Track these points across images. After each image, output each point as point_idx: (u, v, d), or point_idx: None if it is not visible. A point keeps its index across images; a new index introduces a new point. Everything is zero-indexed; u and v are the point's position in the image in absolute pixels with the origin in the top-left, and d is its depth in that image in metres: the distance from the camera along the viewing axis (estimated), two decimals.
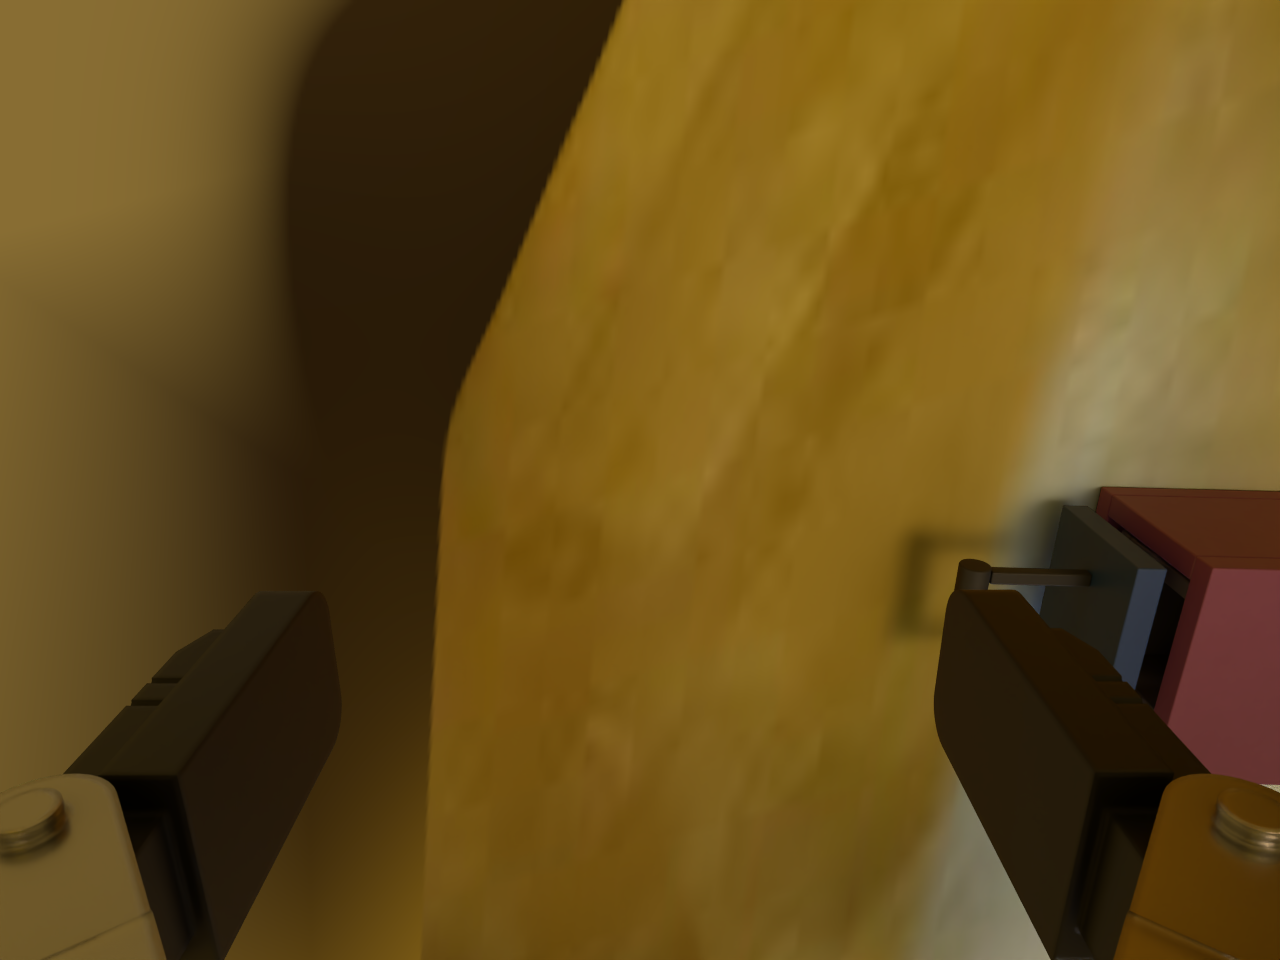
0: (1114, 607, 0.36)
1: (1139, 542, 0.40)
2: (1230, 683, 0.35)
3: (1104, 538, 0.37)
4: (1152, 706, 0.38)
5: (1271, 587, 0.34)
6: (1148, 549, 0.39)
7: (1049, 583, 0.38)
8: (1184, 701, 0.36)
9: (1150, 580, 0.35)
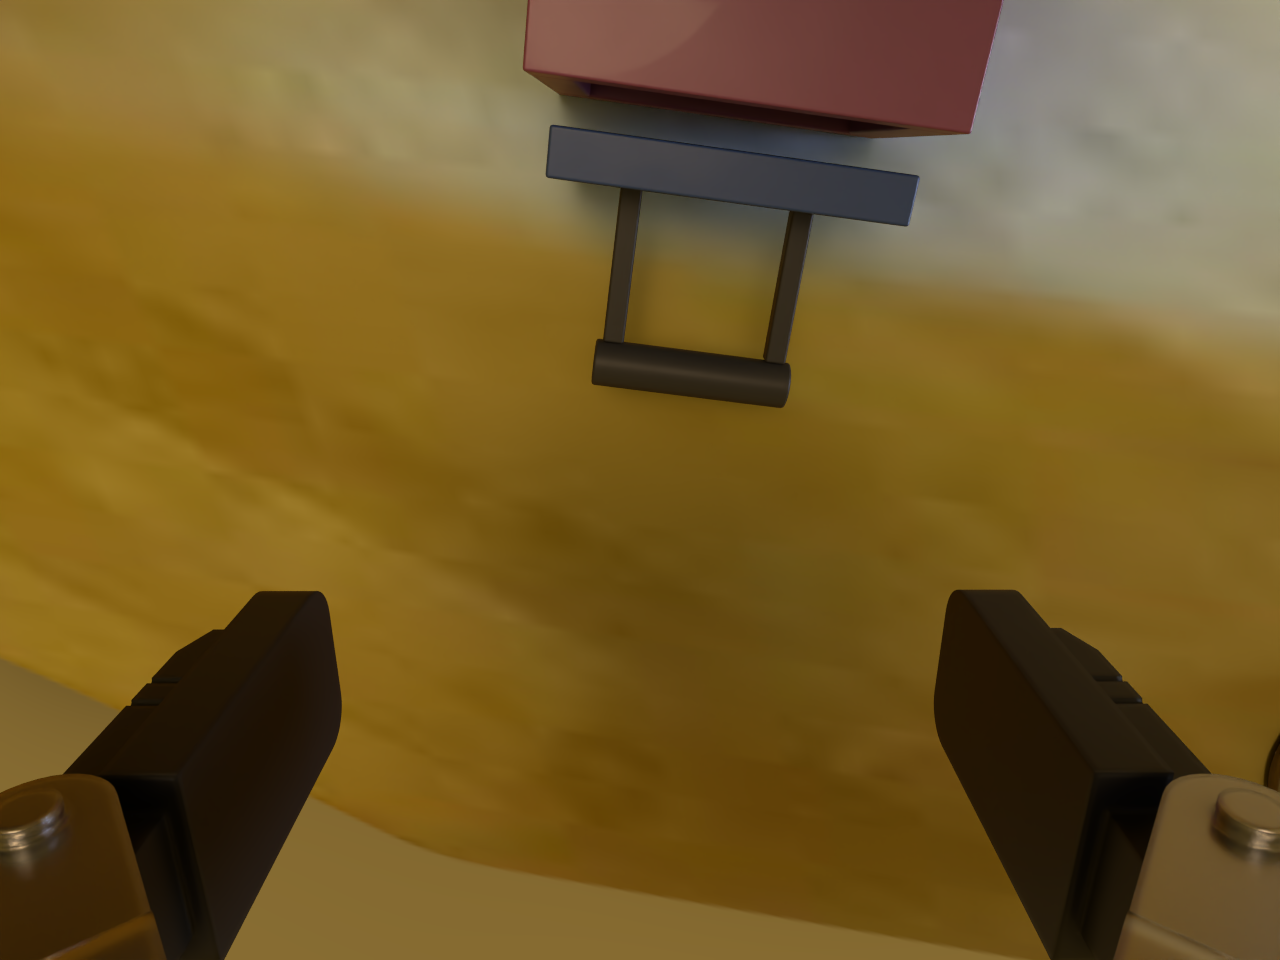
0: None
1: None
2: None
3: None
4: None
5: None
6: None
7: (629, 253, 0.24)
8: (796, 89, 0.19)
9: (568, 153, 0.21)
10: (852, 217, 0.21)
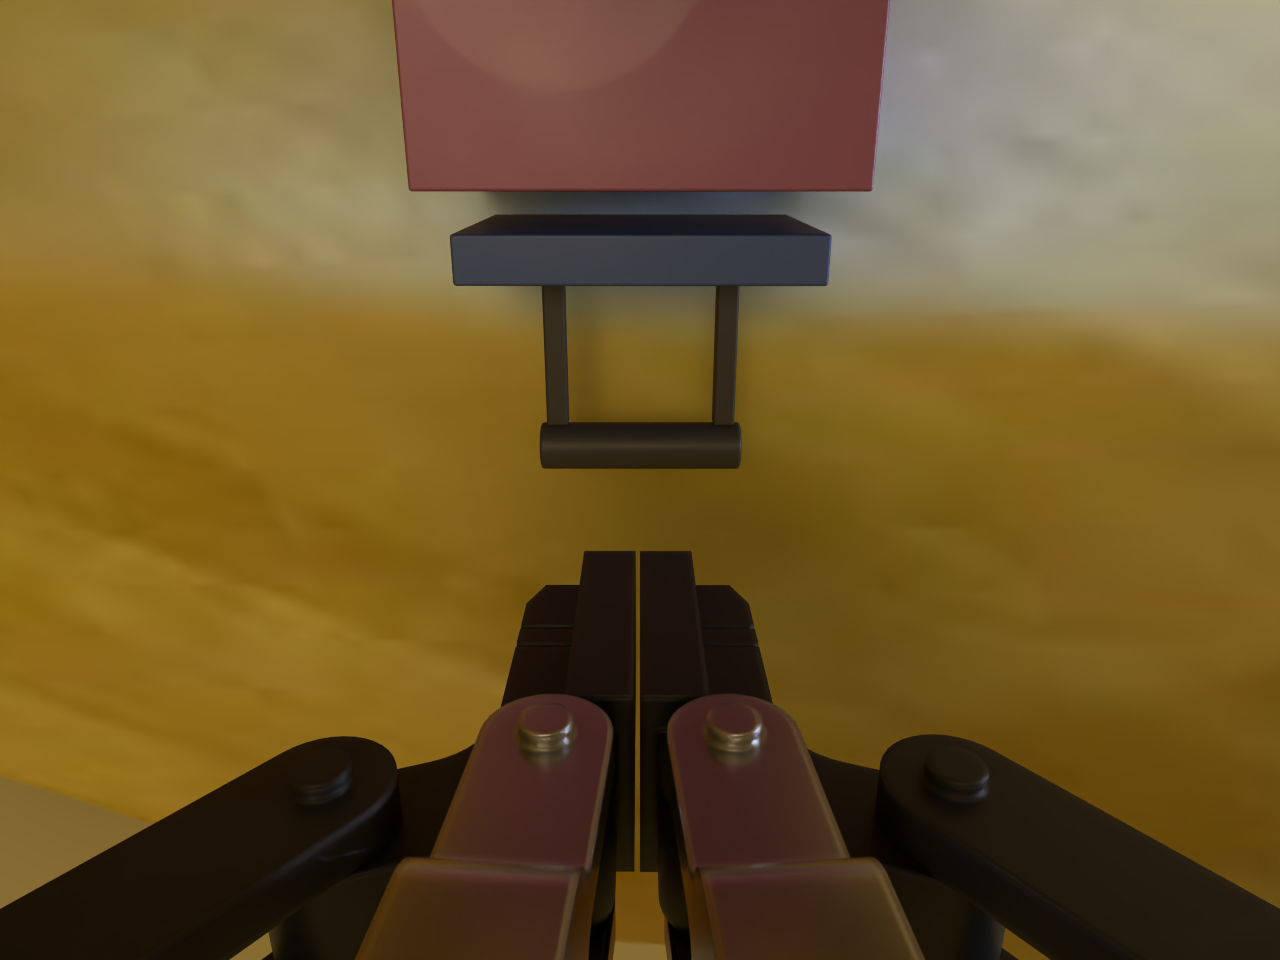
0: None
1: None
2: (644, 89, 0.18)
3: None
4: None
5: (433, 65, 0.18)
6: None
7: (560, 337, 0.24)
8: (686, 171, 0.19)
9: (472, 260, 0.21)
10: (768, 284, 0.21)
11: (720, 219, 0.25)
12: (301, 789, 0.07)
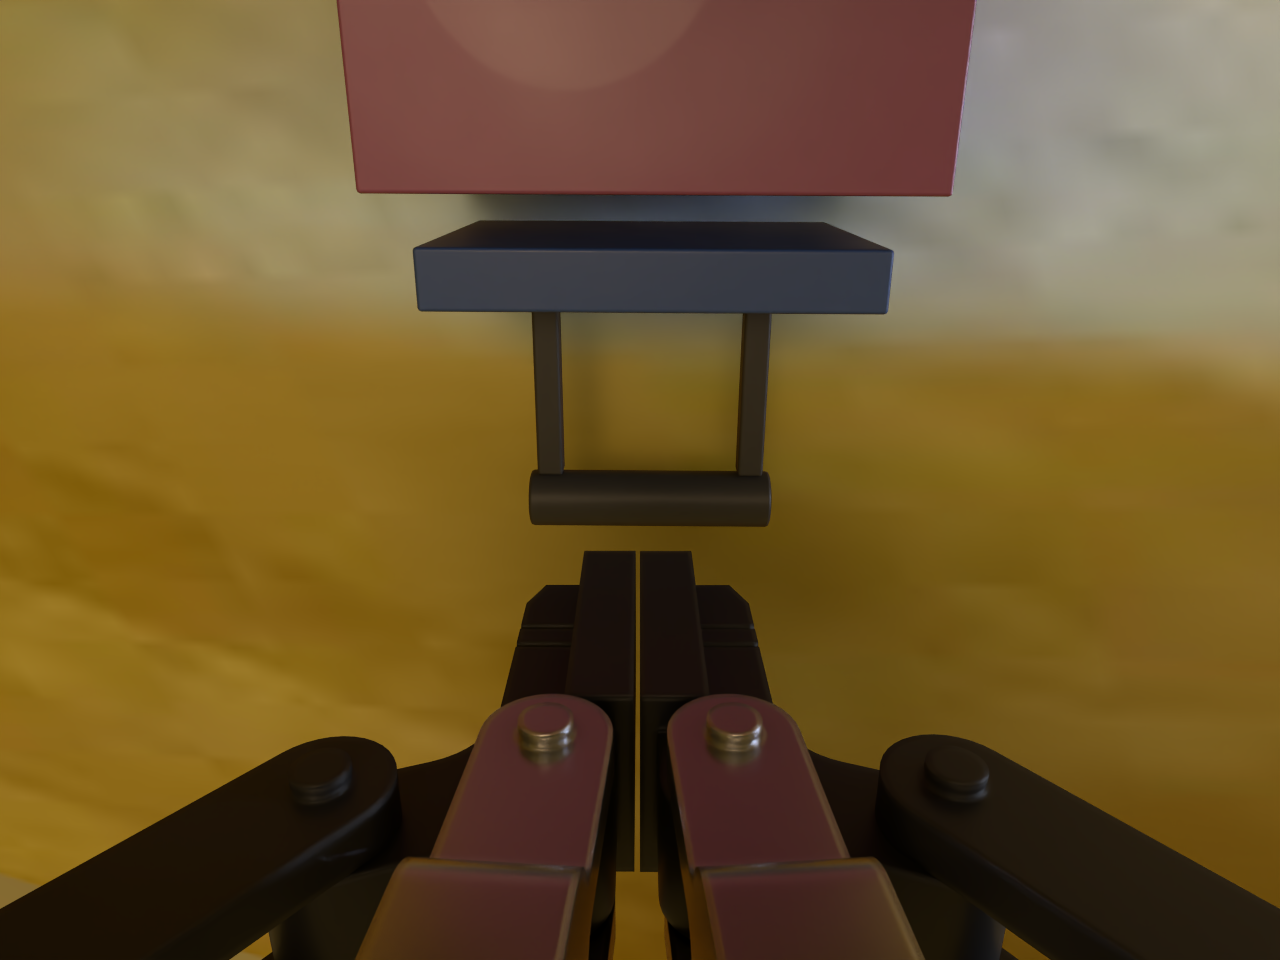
0: None
1: None
2: (659, 61, 0.14)
3: None
4: None
5: (385, 29, 0.14)
6: None
7: (553, 370, 0.20)
8: (712, 170, 0.15)
9: (441, 279, 0.16)
10: (813, 312, 0.17)
11: (748, 228, 0.20)
12: (301, 789, 0.07)
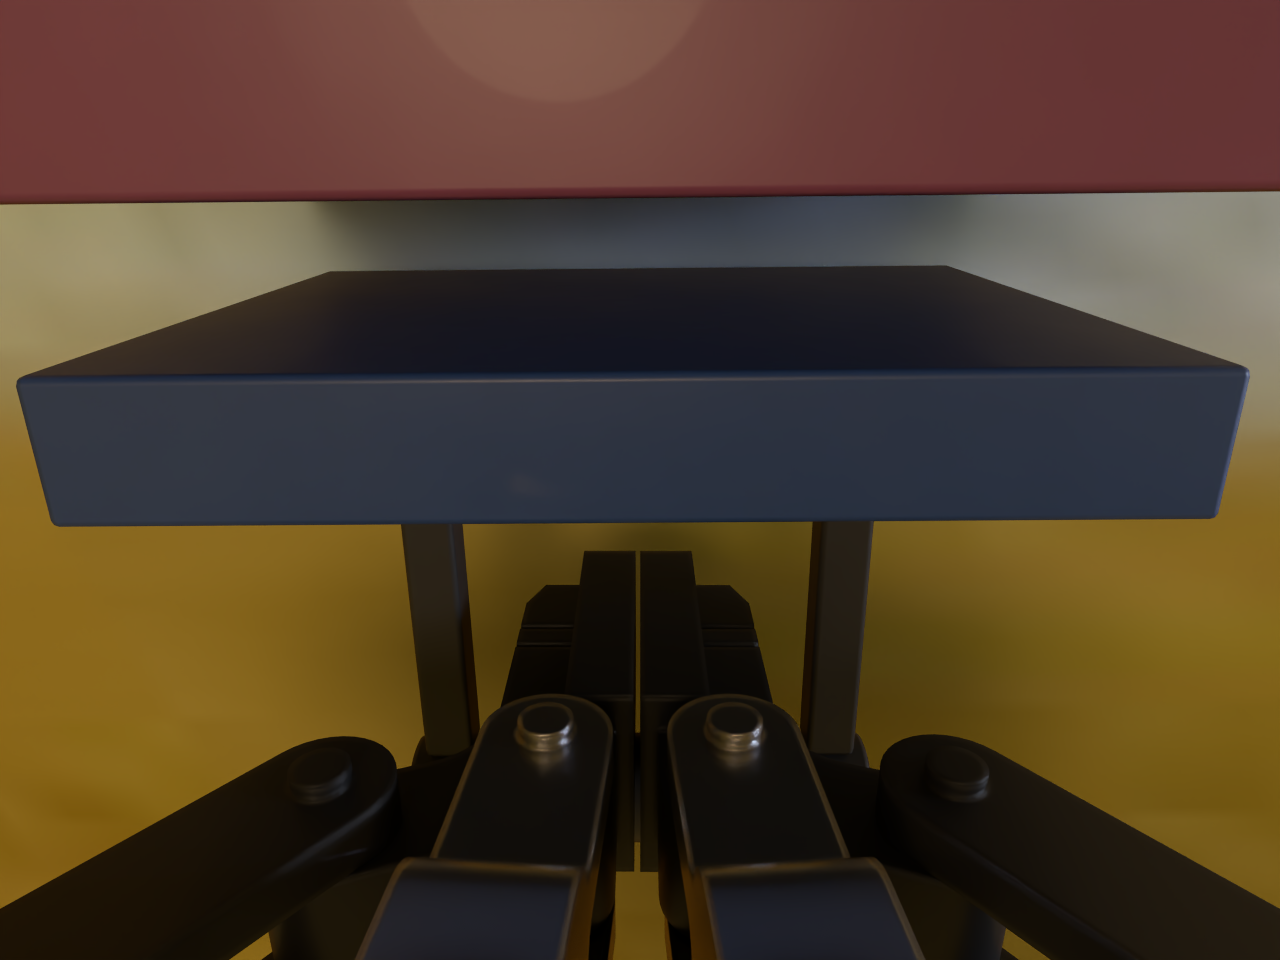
0: None
1: None
2: None
3: None
4: None
5: None
6: None
7: (443, 573, 0.10)
8: (801, 118, 0.05)
9: (96, 455, 0.07)
10: (1032, 518, 0.07)
11: (822, 285, 0.11)
12: (301, 789, 0.07)
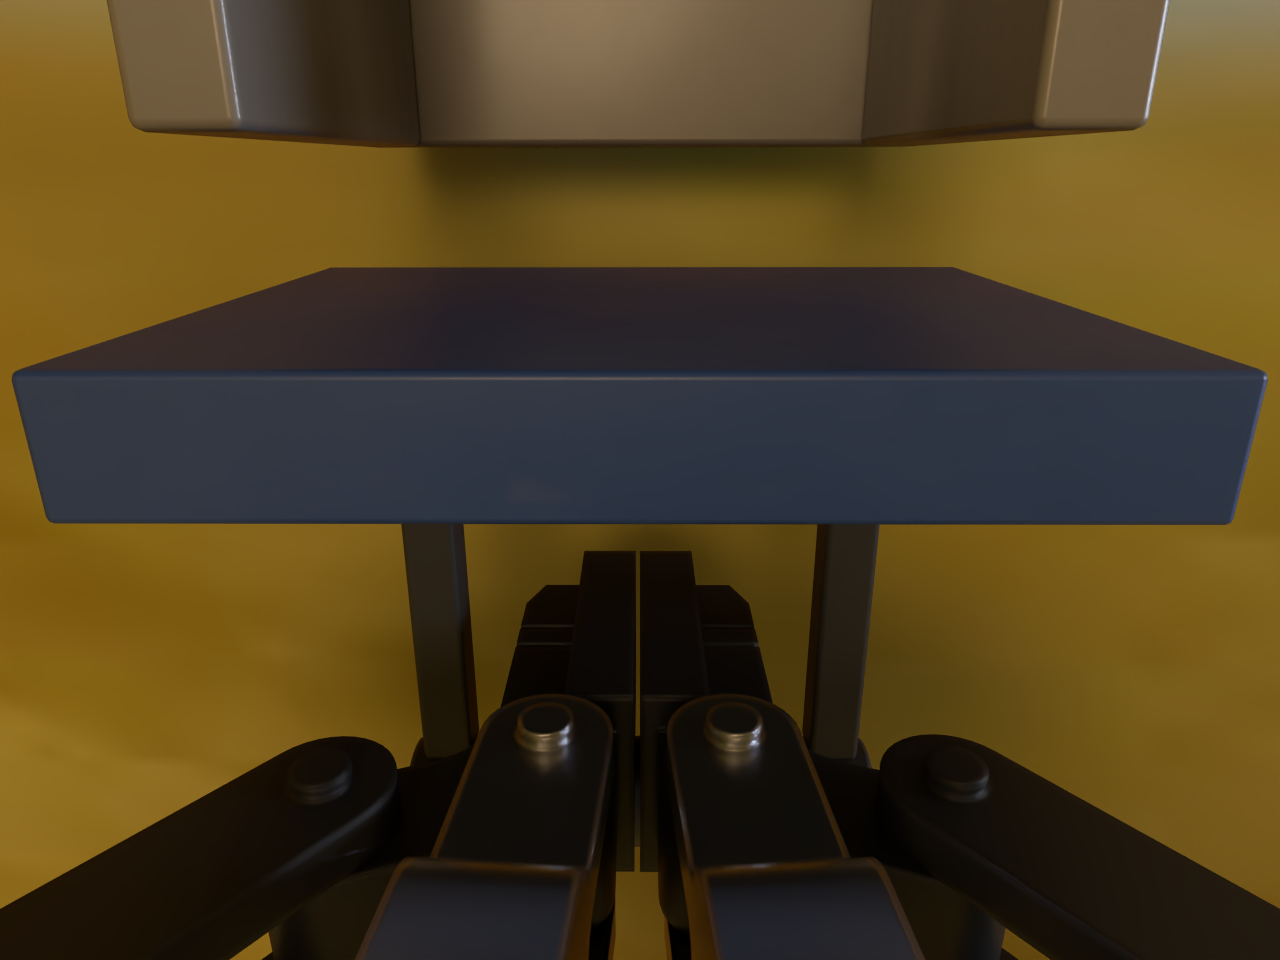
0: None
1: None
2: None
3: None
4: (996, 124, 0.07)
5: None
6: None
7: (444, 574, 0.10)
8: None
9: (94, 450, 0.06)
10: (1044, 522, 0.07)
11: (828, 285, 0.10)
12: (300, 790, 0.07)
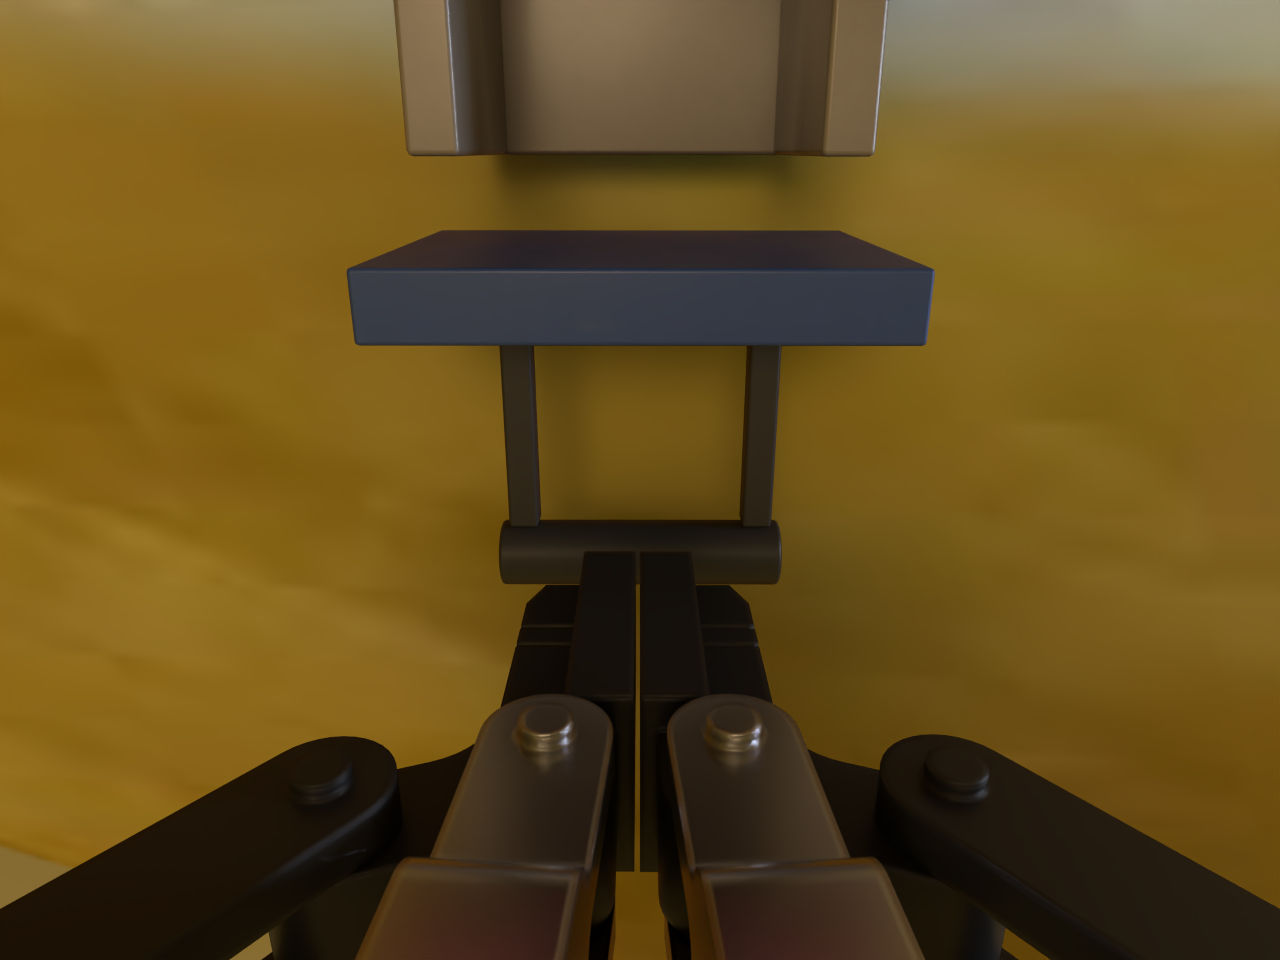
0: None
1: None
2: None
3: None
4: (814, 151, 0.14)
5: None
6: None
7: (525, 407, 0.17)
8: None
9: (382, 307, 0.13)
10: (836, 343, 0.14)
11: (753, 239, 0.18)
12: (301, 789, 0.07)
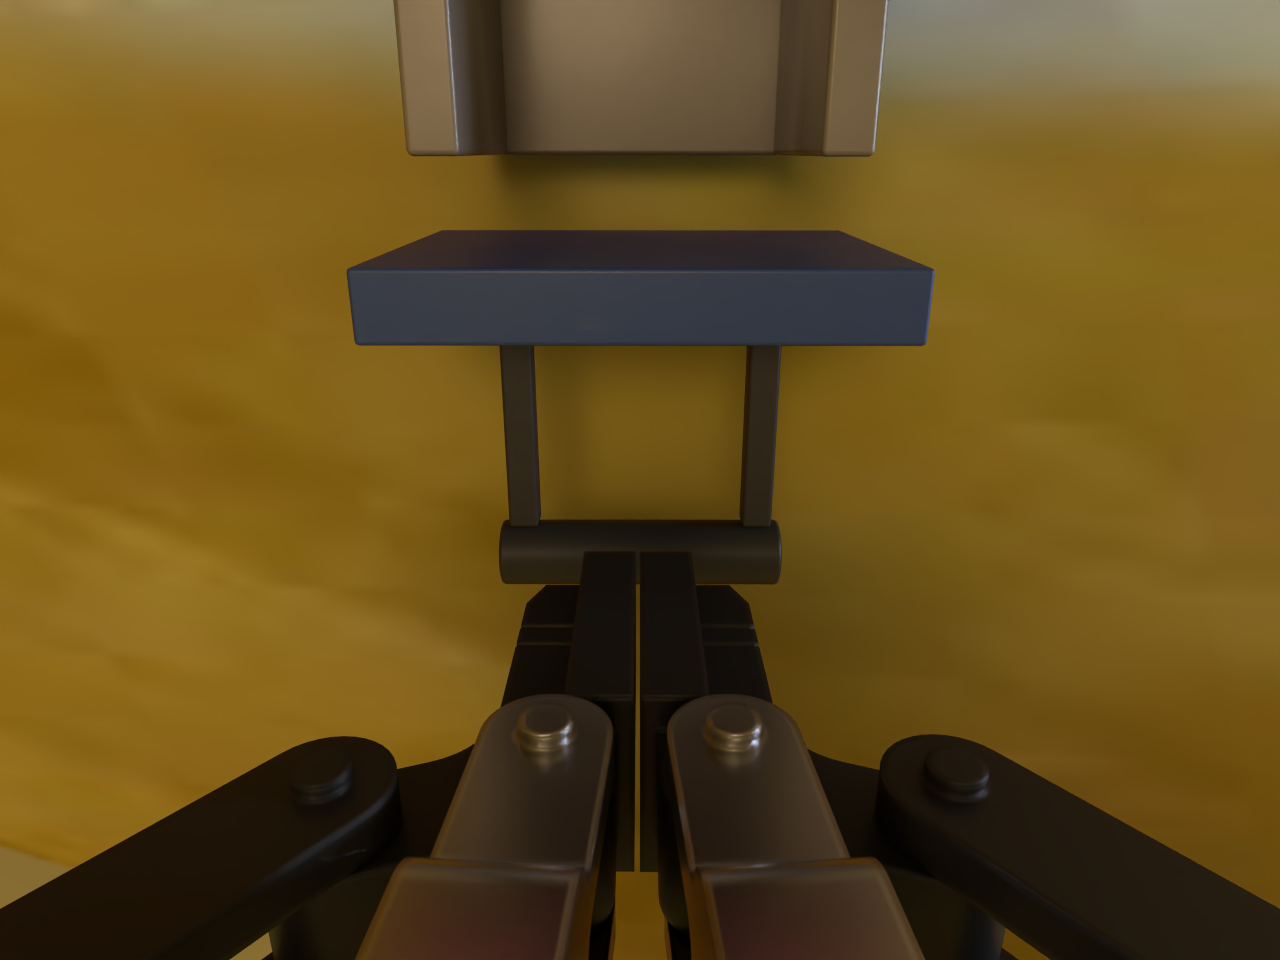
0: None
1: None
2: None
3: None
4: (814, 151, 0.14)
5: None
6: None
7: (525, 407, 0.17)
8: None
9: (382, 307, 0.13)
10: (836, 343, 0.14)
11: (753, 239, 0.18)
12: (301, 789, 0.07)
